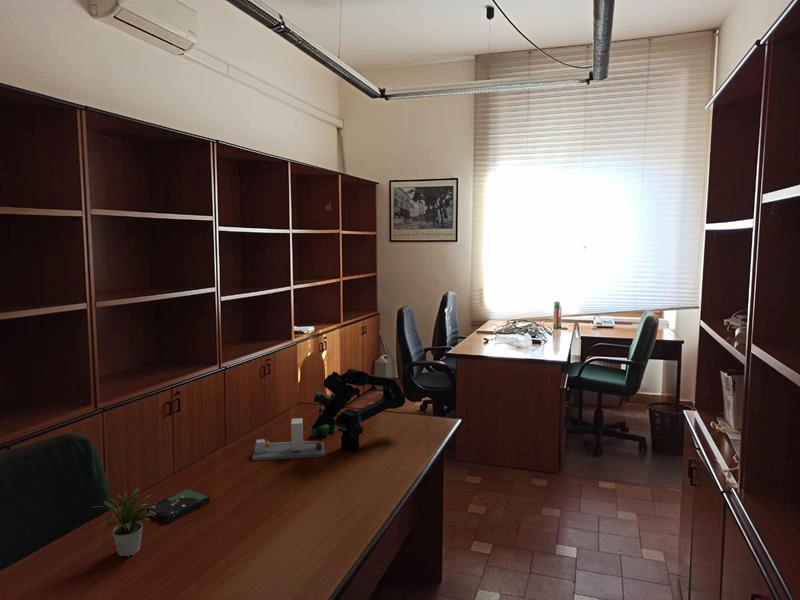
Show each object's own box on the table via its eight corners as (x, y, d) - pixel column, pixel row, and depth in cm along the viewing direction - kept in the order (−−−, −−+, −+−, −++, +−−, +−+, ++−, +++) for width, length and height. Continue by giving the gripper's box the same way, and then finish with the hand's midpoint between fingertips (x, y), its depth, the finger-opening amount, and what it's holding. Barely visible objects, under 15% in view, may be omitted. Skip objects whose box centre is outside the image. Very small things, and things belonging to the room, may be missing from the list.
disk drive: (170, 525, 164) (210, 503, 176) (169, 516, 163) (210, 495, 176) (146, 516, 169) (187, 495, 182) (145, 507, 168) (187, 487, 181)
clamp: (323, 447, 234) (322, 431, 229) (311, 441, 236) (310, 425, 231) (339, 428, 243) (339, 412, 238) (328, 422, 245) (327, 407, 240)
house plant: (108, 576, 138) (104, 512, 136) (84, 555, 147) (80, 494, 145) (165, 552, 149) (162, 491, 147) (140, 533, 158) (137, 476, 156)
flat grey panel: (324, 444, 224) (323, 432, 224) (324, 456, 213) (324, 443, 212) (255, 448, 221) (255, 435, 220) (252, 460, 209) (251, 447, 208)
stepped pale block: (303, 444, 220) (302, 418, 219) (302, 450, 214) (302, 423, 213) (292, 445, 220) (291, 418, 218) (291, 451, 214) (291, 423, 212)
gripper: (325, 378, 225) (297, 406, 225) (325, 391, 207) (295, 422, 207) (346, 396, 227) (318, 425, 227) (347, 411, 209) (317, 442, 209)
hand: (312, 428), depth 217 cm, fingers closed
